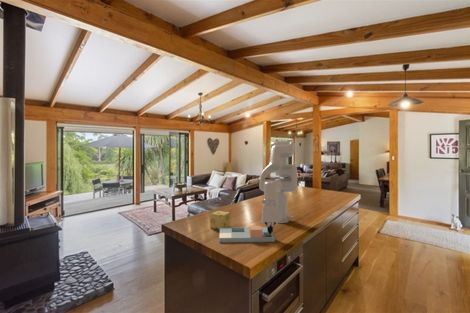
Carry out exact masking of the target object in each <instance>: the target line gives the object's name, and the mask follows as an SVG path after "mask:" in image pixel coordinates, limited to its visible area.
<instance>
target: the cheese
mask: <svg viewBox="0 0 470 313" xmlns="http://www.w3.org/2000/svg"><path fill="white" fill-rule="evenodd" d="M231 218H232V217H231V211H223V210H222V211H221V210H217V211H214V212H210V216H209V224H210V225H209V226H210V229H215V230H219V231H220V228H231Z"/></svg>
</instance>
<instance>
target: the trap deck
mask: <svg viewBox="0 0 470 313" xmlns="http://www.w3.org/2000/svg"><path fill="white" fill-rule="evenodd" d="M261 228H262V230H263V231H262V237H252V238H250V235H249V226H248V227H228V228H220V230H219V237H218V239H219V241H218V242H219V243H271V242H272V243H273V242H276V237H275V235H274V234H273V232H272V234H271V233H270V234H269V233H268V231H267V226H261Z"/></svg>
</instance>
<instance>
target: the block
mask: <svg viewBox="0 0 470 313" xmlns="http://www.w3.org/2000/svg"><path fill="white" fill-rule="evenodd" d="M248 227H249V235H250V238H252V237H262V231H263V230H262V228H261V227H262V226H261V225H249V226H248Z"/></svg>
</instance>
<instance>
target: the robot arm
mask: <svg viewBox="0 0 470 313" xmlns="http://www.w3.org/2000/svg"><path fill="white" fill-rule="evenodd" d="M295 149H296V144H295V142H294V141H293V140H275V141H272V142H271V143H270V153H269V154H270V155H269V159H268V160H269V163H268V165H267V166H266V167H265V168H263V170H262V171H261V173H260V178H259V182H258V187H259V190H260V191H262V192H263V199H261V201H260V202H261V204H262V203H263V204H262V206H261V207H262V208H261V216H260V218H261V221H260V223H261V224H262V225H263V224H264V225H266V227H267V231H268V233H269V234H270V233H271V234H272V233H273V232H274V226H275V225H277V224H286V223H289V222H290V219H291V220H292V219H294V218H295V217H294V215H288V196H287V195H286V193H285V192H287V193H295V192H297V190H298V168H297V165H296V164H290V163H289V164H288V161H287V160H288V158H291V157H292V156H293V155H294V153H295ZM273 172H275V173H274V174H275V176H276V177H278V178H275V179H266V177H268V176H269V174H271V173H273Z"/></svg>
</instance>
